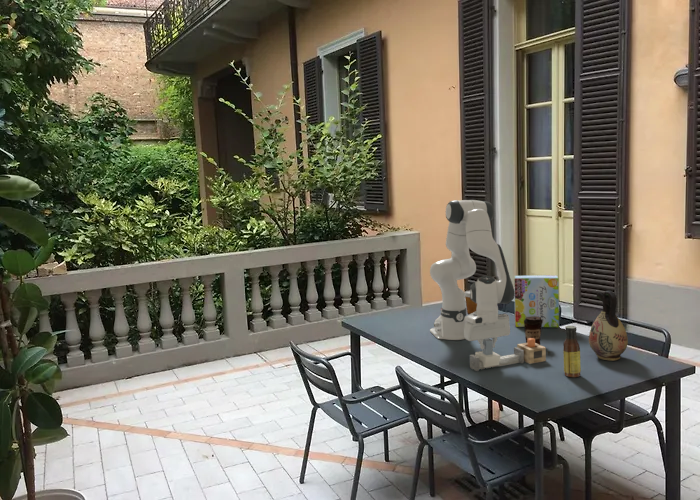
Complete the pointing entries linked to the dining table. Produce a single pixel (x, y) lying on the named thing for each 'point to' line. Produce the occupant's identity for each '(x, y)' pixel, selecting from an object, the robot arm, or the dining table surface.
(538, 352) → the cabinet
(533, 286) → the snack box
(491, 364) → the carriage
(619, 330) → the ceramic jug
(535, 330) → the coffee cup
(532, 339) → the button
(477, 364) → the rail
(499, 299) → the robot arm
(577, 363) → the sauce bottle
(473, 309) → the disposable coffee cup
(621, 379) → the dining table surface
